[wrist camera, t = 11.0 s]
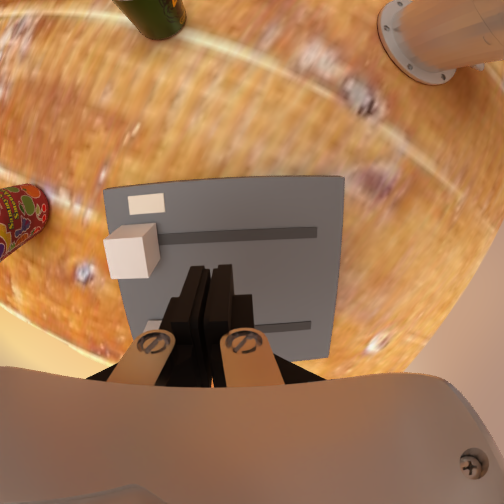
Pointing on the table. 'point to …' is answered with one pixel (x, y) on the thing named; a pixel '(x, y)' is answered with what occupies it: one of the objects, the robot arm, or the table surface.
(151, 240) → the slider
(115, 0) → the beer can
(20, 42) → the table surface
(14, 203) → the smoothie
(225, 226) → the switch panel
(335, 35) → the table surface
